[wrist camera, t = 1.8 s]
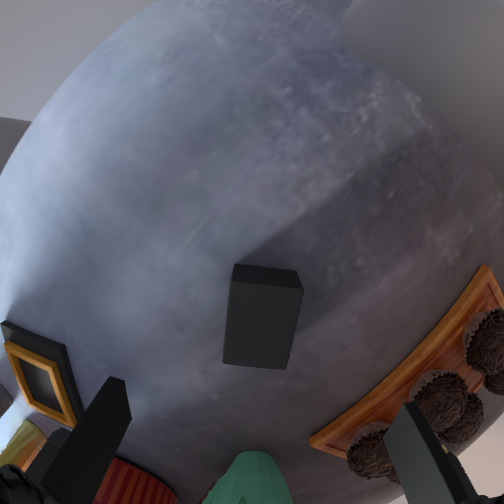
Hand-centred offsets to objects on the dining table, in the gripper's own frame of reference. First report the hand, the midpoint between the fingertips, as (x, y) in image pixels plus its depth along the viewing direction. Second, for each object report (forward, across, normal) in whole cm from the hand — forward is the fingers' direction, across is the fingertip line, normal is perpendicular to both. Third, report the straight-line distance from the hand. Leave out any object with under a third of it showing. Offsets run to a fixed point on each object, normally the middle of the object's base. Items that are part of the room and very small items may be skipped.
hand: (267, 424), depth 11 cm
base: (+13, -27, -17) cm, 35 cm away
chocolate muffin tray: (+14, +22, -10) cm, 28 cm away
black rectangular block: (+13, 0, 0) cm, 13 cm away
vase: (+13, -38, -36) cm, 54 cm away
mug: (+13, +1, -25) cm, 28 cm away
